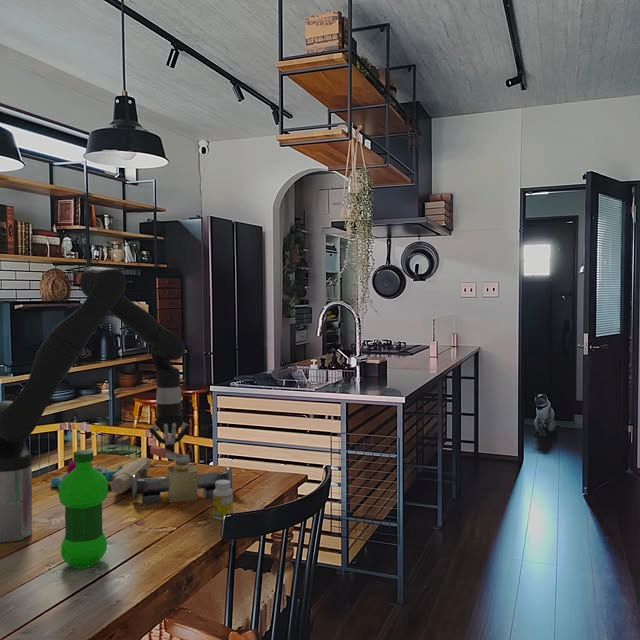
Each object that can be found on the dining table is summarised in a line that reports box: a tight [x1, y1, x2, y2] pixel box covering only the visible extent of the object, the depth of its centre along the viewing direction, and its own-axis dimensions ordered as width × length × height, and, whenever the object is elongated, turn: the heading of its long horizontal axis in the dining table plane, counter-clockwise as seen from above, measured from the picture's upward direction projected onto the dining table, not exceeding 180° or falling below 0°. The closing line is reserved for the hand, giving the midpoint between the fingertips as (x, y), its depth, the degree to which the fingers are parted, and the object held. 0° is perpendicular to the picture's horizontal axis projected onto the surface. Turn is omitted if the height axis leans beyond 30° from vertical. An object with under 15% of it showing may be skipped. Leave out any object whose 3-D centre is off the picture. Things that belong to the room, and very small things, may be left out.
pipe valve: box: [131, 462, 233, 505], centre depth 181 cm, size 28×7×10 cm, turn 108°
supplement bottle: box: [212, 480, 234, 521], centre depth 165 cm, size 5×5×10 cm
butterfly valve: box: [50, 456, 151, 495], centre depth 192 cm, size 27×7×30 cm
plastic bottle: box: [58, 449, 109, 569], centre depth 136 cm, size 10×10×25 cm
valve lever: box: [149, 445, 190, 465], centre depth 185 cm, size 18×4×2 cm, turn 46°
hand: (169, 455), depth 191 cm, fingers closed
